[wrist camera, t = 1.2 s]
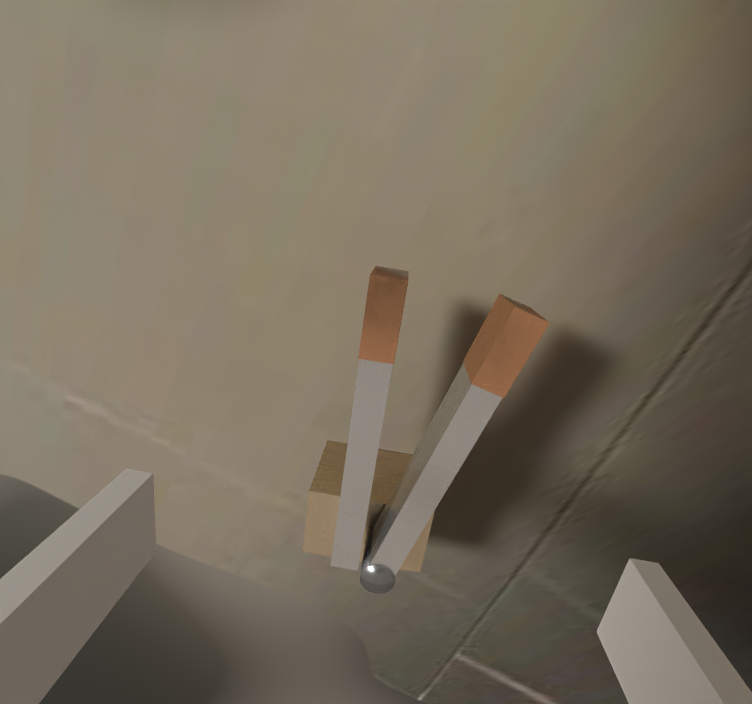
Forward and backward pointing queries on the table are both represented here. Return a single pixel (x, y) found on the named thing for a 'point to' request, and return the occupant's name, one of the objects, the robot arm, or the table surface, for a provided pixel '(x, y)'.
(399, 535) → the tong arm
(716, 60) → the table surface
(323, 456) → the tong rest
